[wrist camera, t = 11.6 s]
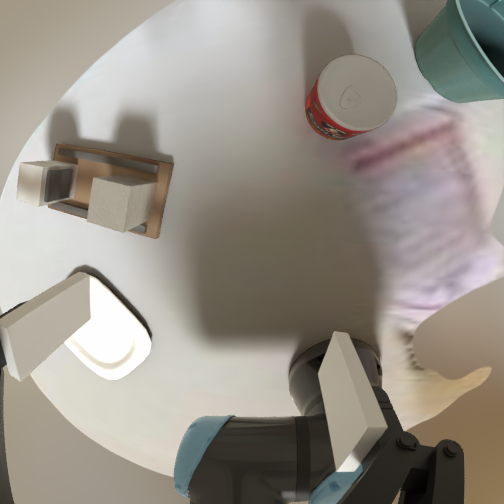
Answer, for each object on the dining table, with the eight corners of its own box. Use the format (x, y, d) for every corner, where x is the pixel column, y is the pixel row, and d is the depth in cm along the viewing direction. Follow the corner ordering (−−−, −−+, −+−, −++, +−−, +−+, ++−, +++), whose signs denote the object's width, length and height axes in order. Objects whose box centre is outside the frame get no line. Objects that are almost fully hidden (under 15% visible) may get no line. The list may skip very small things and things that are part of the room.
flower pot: (381, 61, 30) (437, 13, 15) (422, 3, 26) (471, -42, 10) (464, 138, 32) (540, 135, 16) (494, 73, 27) (557, 55, 12)
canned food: (294, 122, 34) (304, 104, 23) (320, 72, 31) (339, 39, 21) (348, 152, 34) (378, 146, 24) (372, 102, 32) (408, 81, 21)
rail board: (158, 237, 39) (129, 256, 30) (52, 206, 38) (13, 216, 30) (173, 164, 36) (145, 164, 27) (60, 144, 36) (20, 143, 27)
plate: (48, 316, 45) (43, 320, 43) (87, 256, 41) (81, 260, 39) (113, 383, 48) (110, 388, 46) (166, 338, 44) (163, 344, 42)
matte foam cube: (158, 182, 35) (131, 186, 28) (151, 219, 37) (123, 232, 29) (122, 173, 35) (89, 176, 28) (115, 209, 37) (82, 220, 29)
